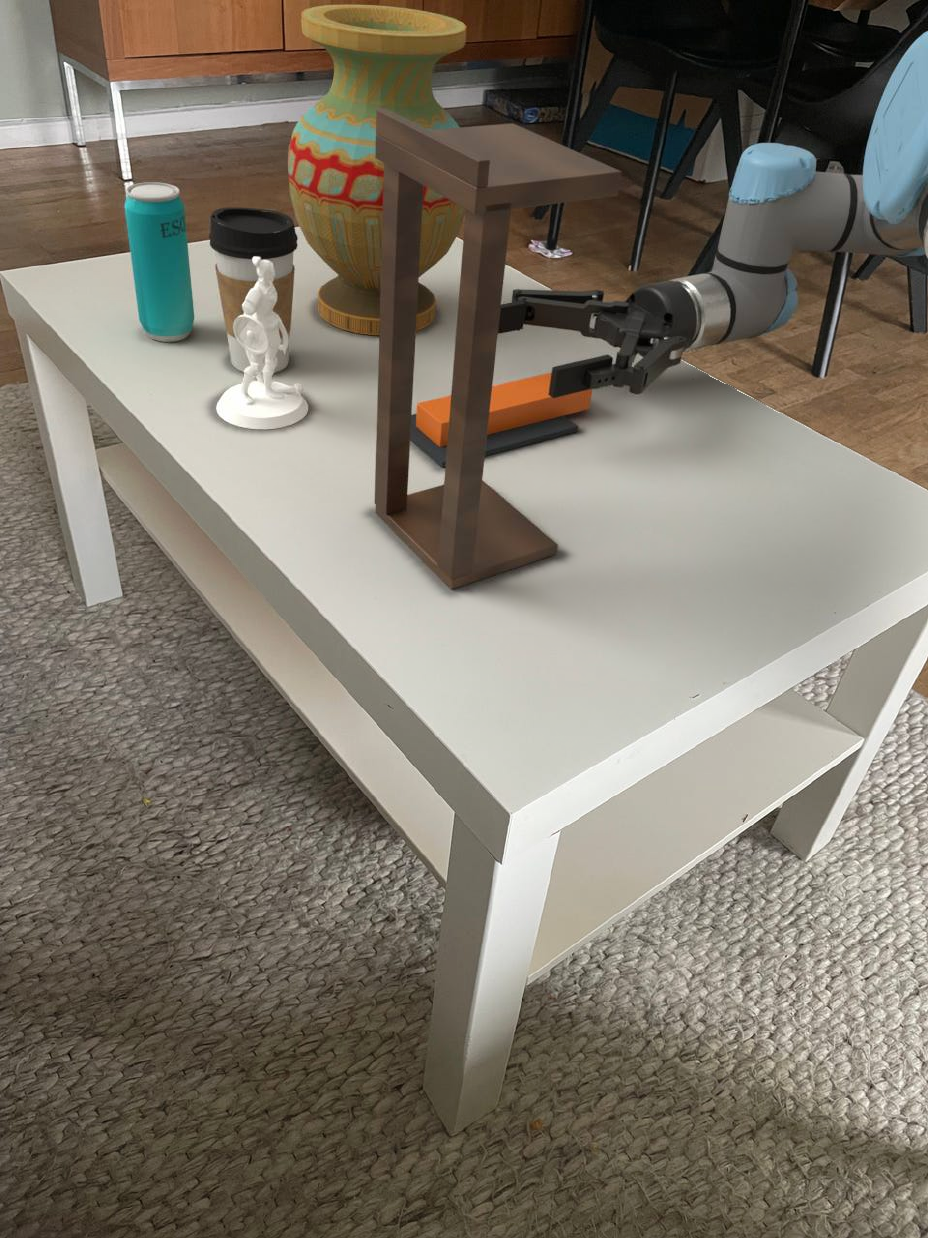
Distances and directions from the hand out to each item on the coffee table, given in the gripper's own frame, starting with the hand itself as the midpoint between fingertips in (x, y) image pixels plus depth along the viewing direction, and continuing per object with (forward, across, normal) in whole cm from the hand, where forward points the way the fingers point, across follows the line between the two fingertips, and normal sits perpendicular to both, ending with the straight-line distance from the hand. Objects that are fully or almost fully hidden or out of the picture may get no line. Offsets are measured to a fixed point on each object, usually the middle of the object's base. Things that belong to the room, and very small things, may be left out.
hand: (508, 352), depth 95 cm
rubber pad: (+2, 0, -8) cm, 8 cm away
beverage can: (+22, +32, -8) cm, 40 cm away
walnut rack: (+14, -14, -8) cm, 21 cm away
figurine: (+20, +13, -8) cm, 25 cm away
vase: (-2, +29, -8) cm, 30 cm away
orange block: (0, 0, -7) cm, 7 cm away
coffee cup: (+16, +22, -8) cm, 28 cm away
